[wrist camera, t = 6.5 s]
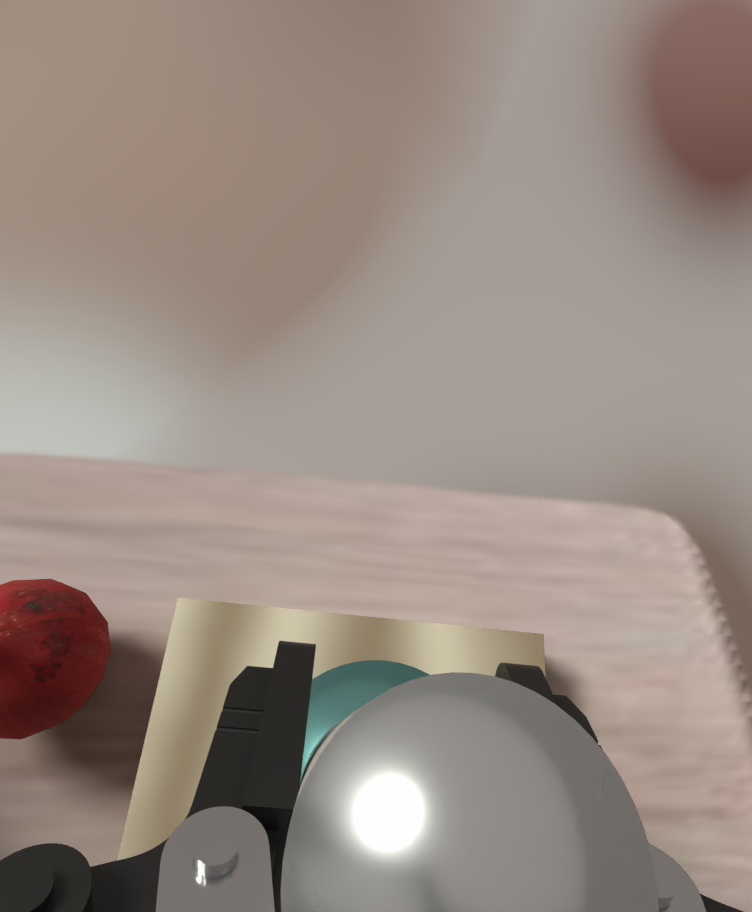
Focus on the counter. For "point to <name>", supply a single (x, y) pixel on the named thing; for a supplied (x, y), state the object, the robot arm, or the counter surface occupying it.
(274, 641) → the wooden base with socket
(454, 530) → the counter surface
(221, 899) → the robot arm
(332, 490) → the counter surface
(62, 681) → the onion
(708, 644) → the counter surface
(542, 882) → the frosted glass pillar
